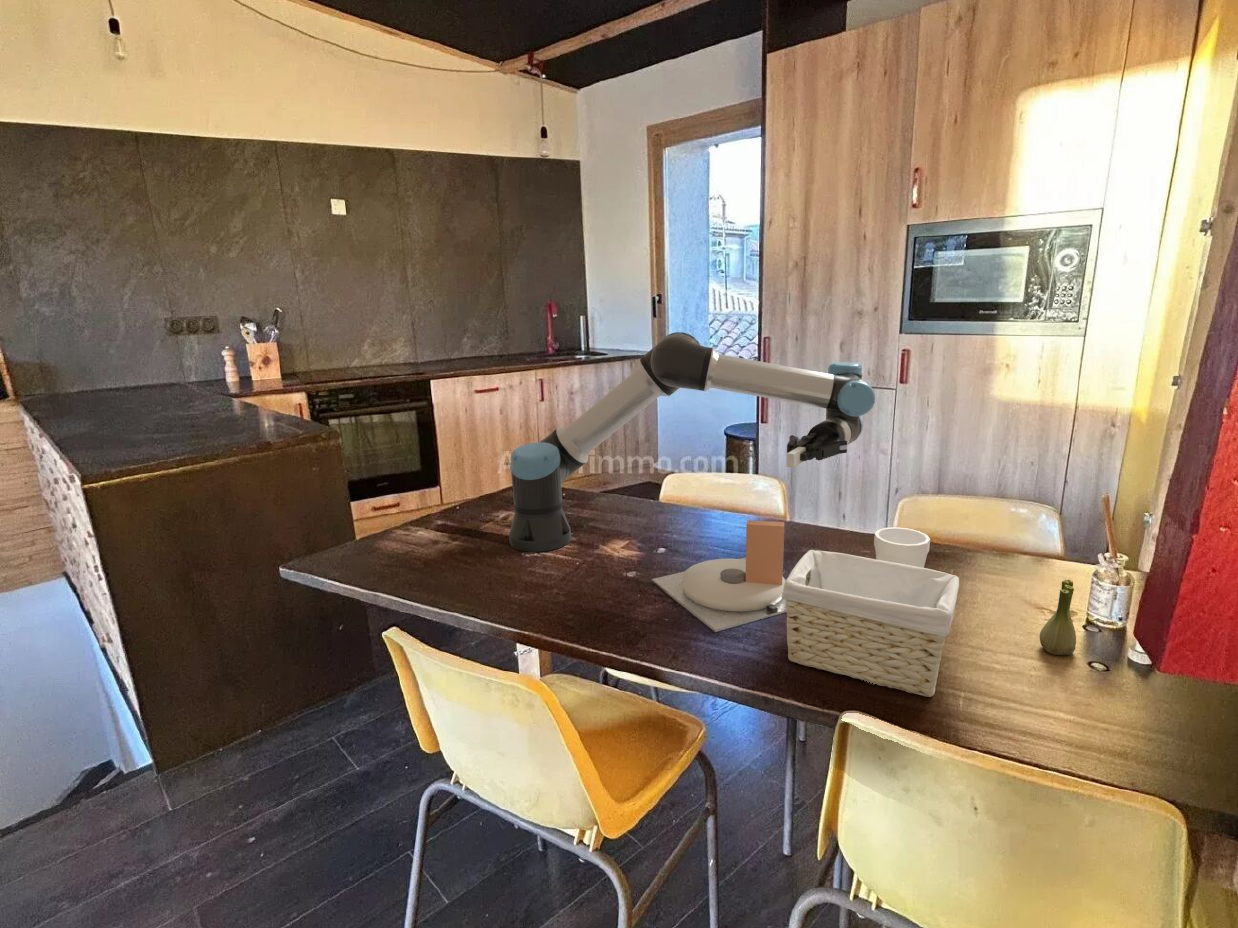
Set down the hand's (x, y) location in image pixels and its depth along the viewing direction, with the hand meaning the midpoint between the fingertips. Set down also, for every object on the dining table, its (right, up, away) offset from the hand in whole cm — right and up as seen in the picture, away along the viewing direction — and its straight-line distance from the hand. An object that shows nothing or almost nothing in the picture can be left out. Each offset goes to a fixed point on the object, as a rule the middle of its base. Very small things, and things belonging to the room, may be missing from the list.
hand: (790, 460), depth 129 cm
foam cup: (+19, -27, -4) cm, 33 cm away
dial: (-11, -26, +1) cm, 28 cm away
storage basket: (+6, -33, -24) cm, 41 cm away
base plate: (-11, -26, +1) cm, 28 cm away
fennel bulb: (+37, -31, -23) cm, 54 cm away
